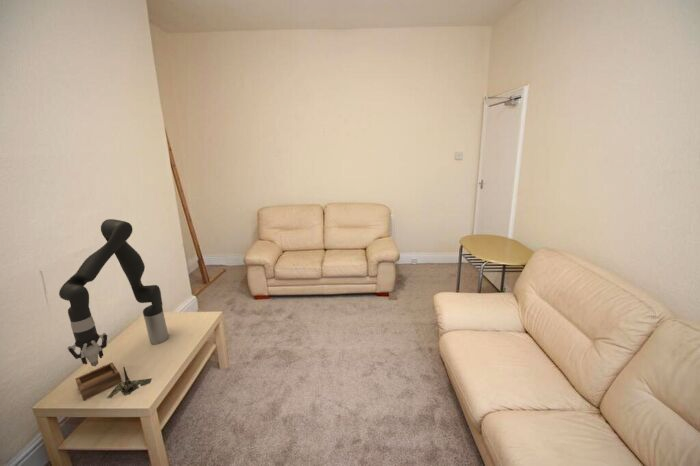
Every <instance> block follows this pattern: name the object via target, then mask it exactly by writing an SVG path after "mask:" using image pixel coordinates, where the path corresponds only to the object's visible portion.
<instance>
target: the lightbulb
mask: <svg viewBox="0 0 700 466" xmlns="http://www.w3.org/2000/svg"><path fill="white" fill-rule="evenodd" d="M99 351H100V348H99V347H96V346H94V345H91V346H89V347H87V348H86V351H85V353H84V357H86V360H88V362H89V363H90V365H91V366H92V367H96V366H97V365H99V354H98V353H99Z"/></svg>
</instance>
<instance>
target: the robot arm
mask: <svg viewBox="0 0 700 466" xmlns="http://www.w3.org/2000/svg"><path fill="white" fill-rule="evenodd" d="M100 232H101V234H102V236H103V238H104V240H105V241H106V243H105V244H103V246H101V247H100V248H98V249H97V250H96V251H95V252H93V253H92V254H90V255H89V256H88V257H87V258H85V259H84V261H83V262H82V264H81V265H80V266H79V268H78V269H77V271H76V272H75V273H74V274H73V275H72V276H70V278H68V279H67V281H65V283H63V284H62V286H61V287H60V289H59V291H58V295H59V298H60V299H62V300H64V301H68V303H69V304H70V306H69V308H68V309H67V313H68V314H67V315H68V319H69V321H70V328H71V330H72V334H73V337H74V340H75V342H74V344H73V345H71V346H68V347H67V350H68V352H69V353H70V354H71V355H72V357H74V359H75V360H78V359H80V360H81V363H82V364H83V365H85V366H86V365H88V361H87V358H86V357H84V353H85V351H86V348H87V347H89V346H91V345H94V346H96V347H99V348H100V351H99V353H98V358H100V359H102V358H103V357H104V353H103V349H104V348H107V345H108V344H107V343H108V335H107V334H106V333H105V332H104V333H101V334H99V333H98V330H97V328H96V322H95V320H94V318H93V315H92V313H91V312H92V311H91V309H90V293H89V290H88V288H87V287H86V285H87V283H90V282H93V281H94V280H95V279H96V278H97V276H98V275H99V273H100V272H101V270H102V269H103V268H104V266H105V265H106V264H107V262H108V261H109V260H110V259H111V257H112V256H113V255H115V257H116V259H117V260H118V261H117V262H118V263H119V265H120V267H121V269H122V272H123V273H124V274H125V276H126V279H127V280H128V282H129V285H130V287H131V290H132V293H133V296H134V298H135V301H137V302H138V303H139V304H147V303H150V305H148V306H146V307H145V308H144V309H143V310H142V314H143V317H144V322H145V326H146V330H147V335H148V340H149V343H150V344H151V345H158V344H162V343H164V342H165V341H167V340H168V339H169V333H168V332H169V331H168V327H167V323H166V318H165V313H164V308H163V298H162V294H161V288H160V286H159V285H156V284H152V285H144V284H143V283H142V277H143V274H144V273H145V262H144V261H143V259H142V257H141V255H140V254H139V252H138V251H136V249H135V248H133V247H132V246H131V245H130V244H129V242H127V241H128V239H129V238H130V237H131V235H132V234H133V225H132V224H131V223H130V222H127V221H124V220H119V219H115V218H110V219H109V218H108V219H105V220H104V221H102V222H101V225H100ZM99 340H101V345H100V344H98V342H99ZM76 347H77V348H79V353H77V352H76Z"/></svg>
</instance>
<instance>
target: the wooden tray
mask: <svg viewBox="0 0 700 466" xmlns="http://www.w3.org/2000/svg"><path fill="white" fill-rule="evenodd" d="M122 382H123V381H122V376H121V374H120V372H119V369H118V368H117V367H116V365H115V364H114V363H113V362H110V363H108V364H105V365H103V366H101V367H98V368H96V369H94V370H91V371H89V372H87V373H85V374H83V375H81V376H78V377H75V383H76V386H77V389H78V391H79V392H80V395H81V397H82V399H83V401H86V400H88V399H90V398H92V397H94V396H96V395H98V394H100V393H102V392H104V391H106V390H108V389H110V388H113V387H114V386H115V387H116V386H117V385H118V384H120V383H122Z"/></svg>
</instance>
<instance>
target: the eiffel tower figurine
mask: <svg viewBox="0 0 700 466" xmlns="http://www.w3.org/2000/svg"><path fill="white" fill-rule="evenodd" d="M122 365H123V368H122V369H123V372H124V381H122V382H121V383H119V384H117V385H115V387H114V388H113V390H112V391H111V392H110V393H109V394H108V396H107V397H106V399H112V398H113V397H114V396H116V395H117V394H119V393H121V394H123V396H125V397H126V396H127V395H128V396H129V395H131V394H132V393H133V392H134V391H136V390H138V389H140V387H139V386H141V387H144V386H147V385H149V384H151V382H152V380H154V379H153V378H152V377H151V378H144V379H135V380H130V379H131V378H130V377H129V375H128V373H127V371H126V367H125V366H124V364H122Z"/></svg>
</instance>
